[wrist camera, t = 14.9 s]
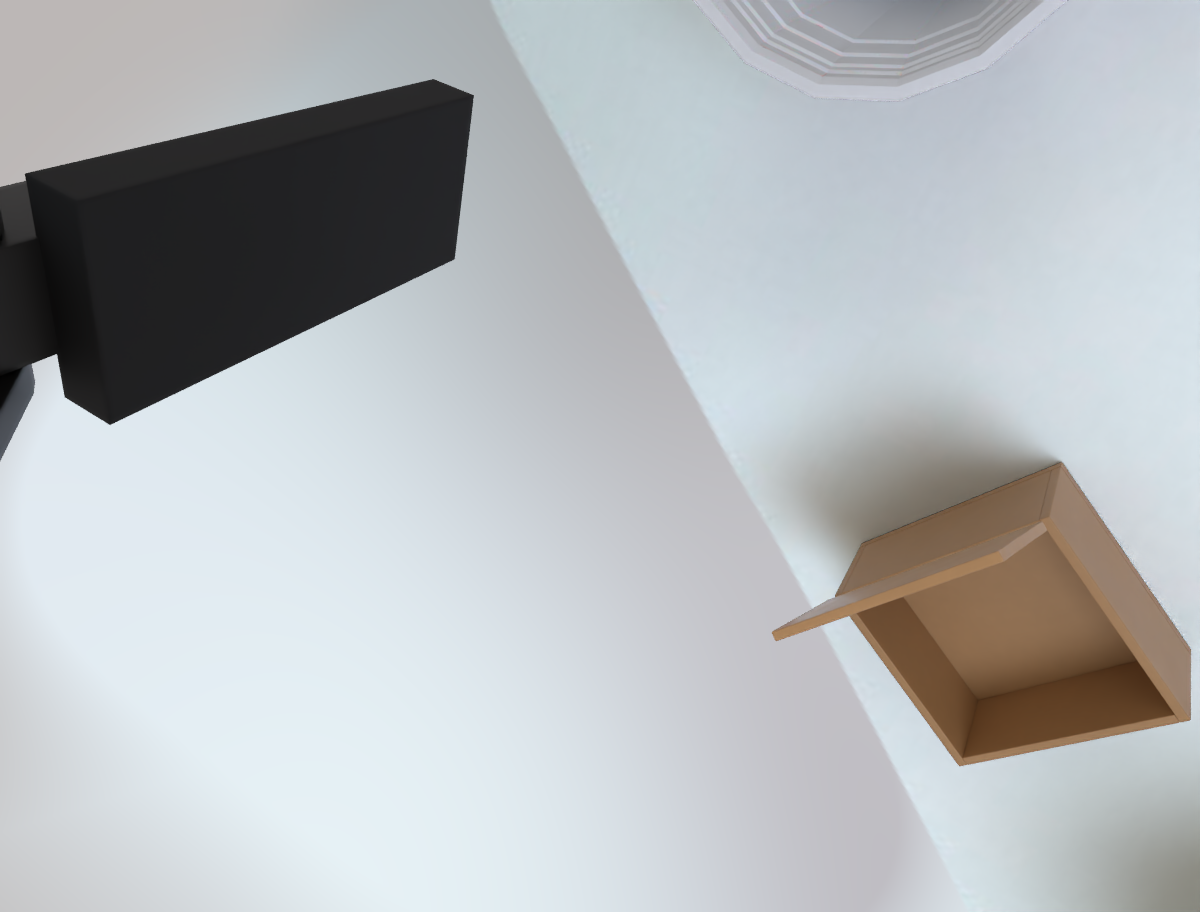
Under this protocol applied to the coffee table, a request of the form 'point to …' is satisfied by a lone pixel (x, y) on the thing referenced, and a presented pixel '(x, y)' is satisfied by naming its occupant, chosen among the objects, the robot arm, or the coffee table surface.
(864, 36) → the plastic cup
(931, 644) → the carton
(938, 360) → the coffee table surface
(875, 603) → the flap
